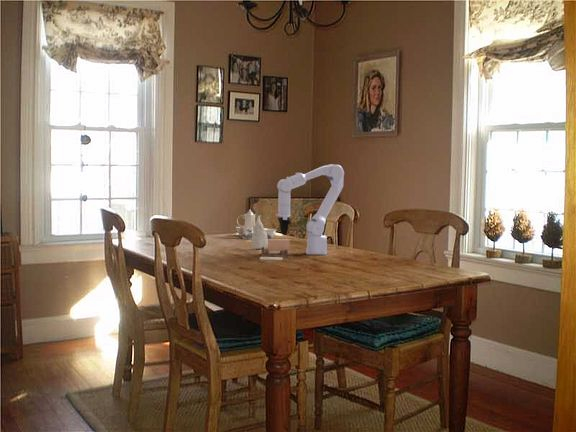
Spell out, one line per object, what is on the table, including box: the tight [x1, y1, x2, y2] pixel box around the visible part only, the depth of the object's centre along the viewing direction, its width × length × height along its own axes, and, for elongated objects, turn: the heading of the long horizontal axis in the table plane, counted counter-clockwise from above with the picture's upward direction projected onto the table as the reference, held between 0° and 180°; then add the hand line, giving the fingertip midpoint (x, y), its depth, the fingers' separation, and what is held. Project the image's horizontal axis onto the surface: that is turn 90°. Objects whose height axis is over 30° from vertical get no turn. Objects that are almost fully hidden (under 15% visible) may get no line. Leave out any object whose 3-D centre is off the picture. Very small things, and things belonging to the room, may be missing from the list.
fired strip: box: [259, 256, 284, 261], centre depth 312 cm, size 10×4×1 cm, turn 84°
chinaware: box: [233, 209, 278, 240], centre depth 387 cm, size 28×17×17 cm, turn 65°
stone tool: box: [250, 219, 268, 250], centre depth 342 cm, size 9×3×15 cm, turn 111°
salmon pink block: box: [267, 238, 291, 252], centre depth 322 cm, size 10×4×5 cm, turn 93°
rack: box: [261, 247, 289, 258], centre depth 322 cm, size 12×9×3 cm
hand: (283, 233), depth 326 cm, fingers open, 7 cm apart
